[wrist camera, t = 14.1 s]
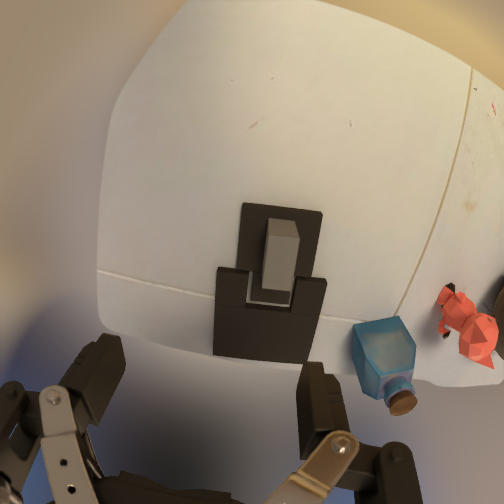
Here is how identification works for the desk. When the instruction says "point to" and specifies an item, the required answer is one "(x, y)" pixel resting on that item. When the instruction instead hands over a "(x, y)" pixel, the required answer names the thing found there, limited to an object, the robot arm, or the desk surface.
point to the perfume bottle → (386, 362)
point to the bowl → (500, 322)
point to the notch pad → (265, 320)
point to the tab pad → (257, 242)
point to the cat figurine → (468, 326)
